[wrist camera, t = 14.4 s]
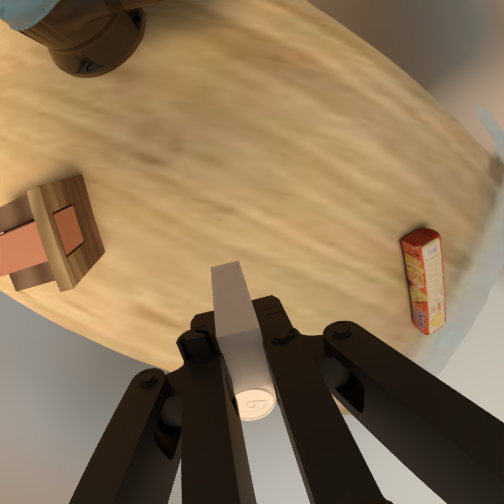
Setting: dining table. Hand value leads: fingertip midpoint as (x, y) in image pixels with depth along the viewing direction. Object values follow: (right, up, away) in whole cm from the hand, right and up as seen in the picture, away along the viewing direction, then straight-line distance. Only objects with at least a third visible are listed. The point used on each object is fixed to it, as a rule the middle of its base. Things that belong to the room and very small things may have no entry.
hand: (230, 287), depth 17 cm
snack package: (+34, -3, +38) cm, 51 cm away
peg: (-29, +4, +19) cm, 35 cm away
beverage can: (-1, -17, +37) cm, 41 cm away
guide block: (-29, +6, +25) cm, 39 cm away
